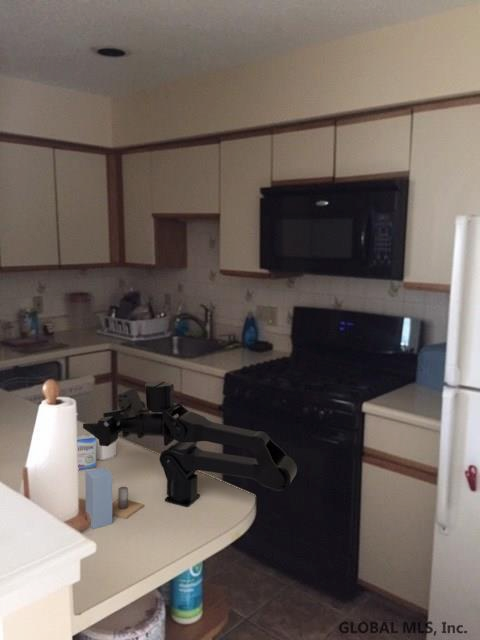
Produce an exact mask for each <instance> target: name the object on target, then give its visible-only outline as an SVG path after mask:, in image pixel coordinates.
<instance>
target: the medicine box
mask: <svg viewBox="0 0 480 640" xmlns="http://www.w3.org/2000/svg"><path fill="white" fill-rule="evenodd" d="M76 435H77V444H78V468H79V470H78V471H83V470H91V469H96V467H97V438H96V437H95V436H93V435H92V434H91V433H84V434H76Z"/></svg>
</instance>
